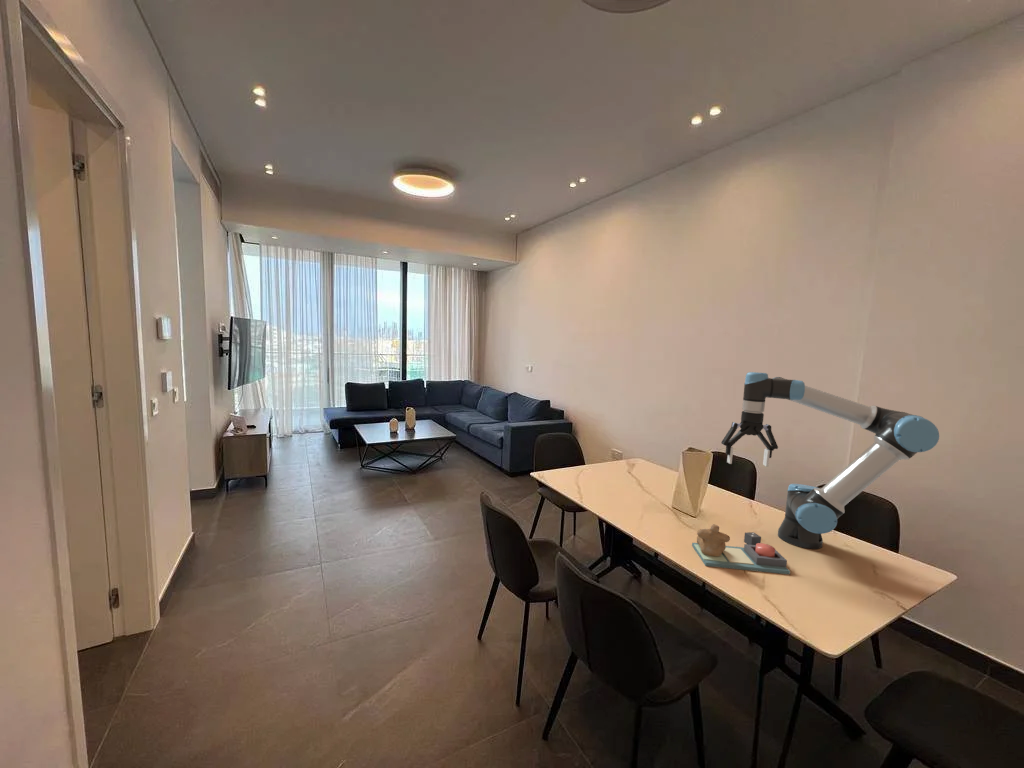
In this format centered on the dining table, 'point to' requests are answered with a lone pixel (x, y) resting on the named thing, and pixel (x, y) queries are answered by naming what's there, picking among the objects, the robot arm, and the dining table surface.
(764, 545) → the dome button
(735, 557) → the board
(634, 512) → the dining table surface
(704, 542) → the figurine
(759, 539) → the die
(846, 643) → the dining table surface
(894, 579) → the dining table surface
